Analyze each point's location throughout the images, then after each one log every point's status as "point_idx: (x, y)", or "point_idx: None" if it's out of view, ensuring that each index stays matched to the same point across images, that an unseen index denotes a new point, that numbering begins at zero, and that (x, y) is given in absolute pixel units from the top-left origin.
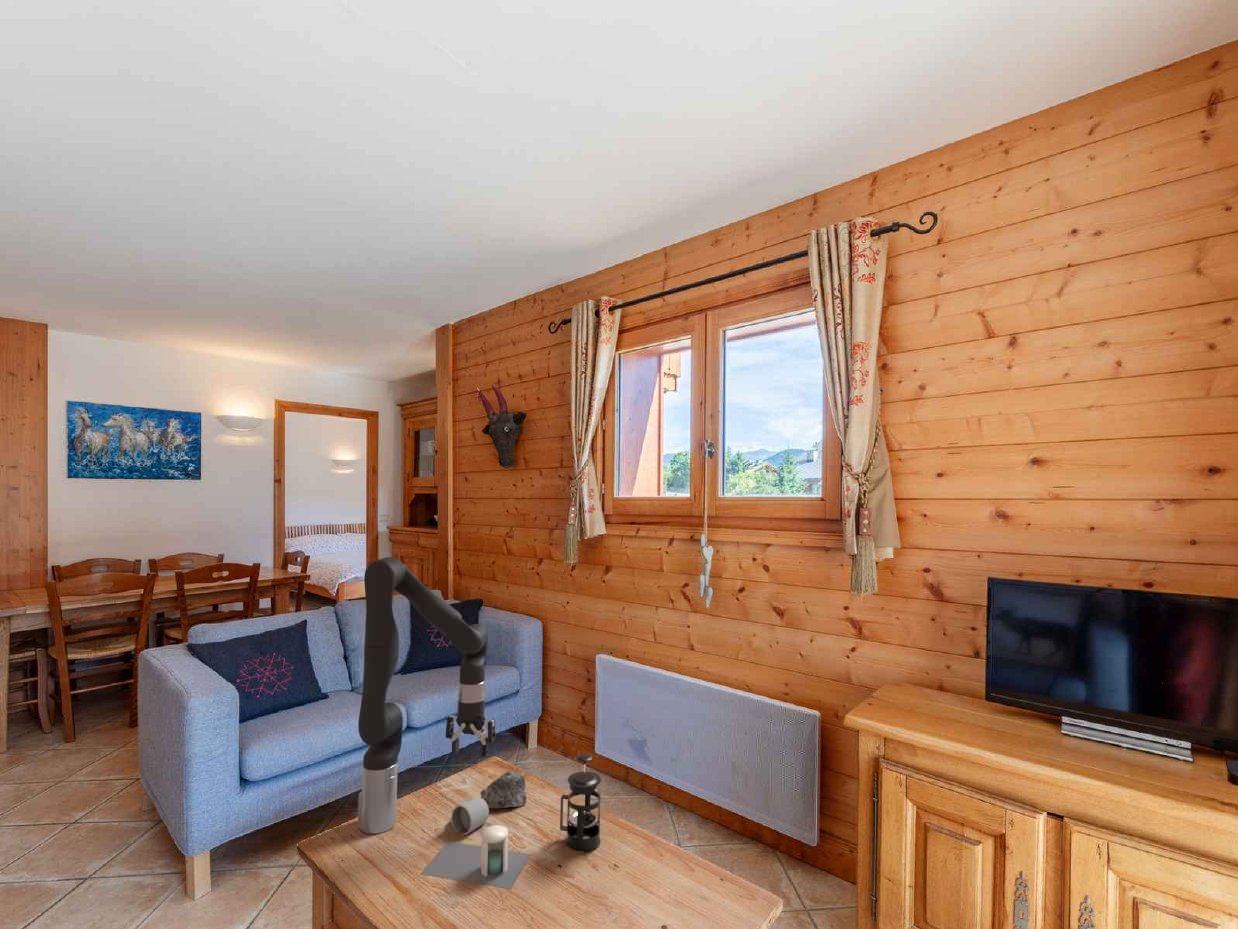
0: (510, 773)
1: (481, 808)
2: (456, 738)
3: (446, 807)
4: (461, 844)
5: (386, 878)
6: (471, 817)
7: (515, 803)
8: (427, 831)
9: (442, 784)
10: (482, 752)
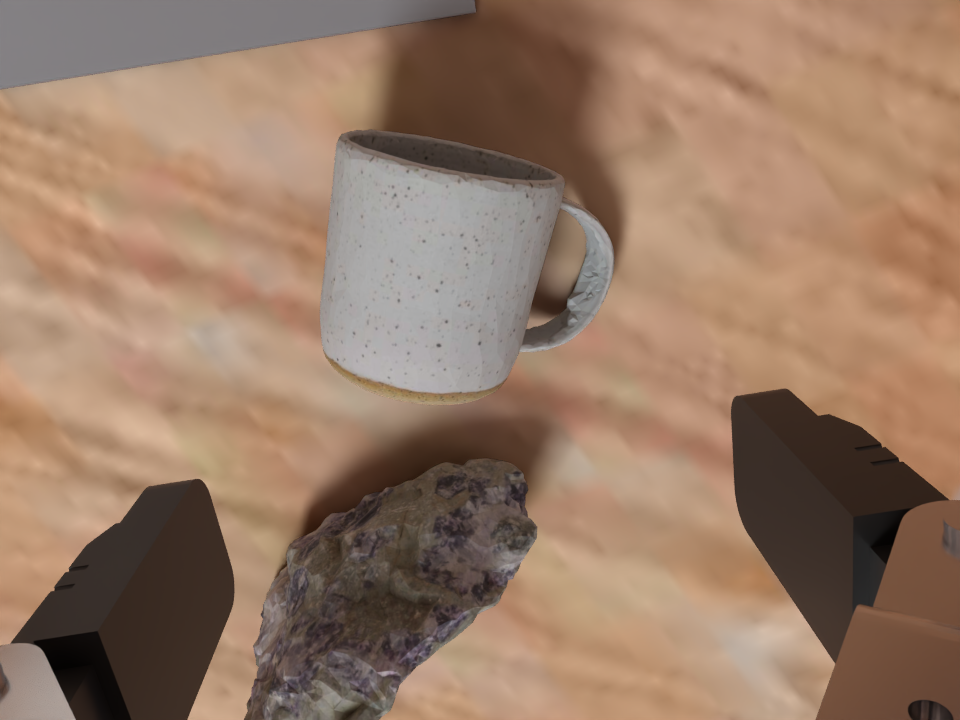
0: None
1: (338, 293)
2: (889, 585)
3: (745, 391)
4: (354, 17)
5: None
6: (340, 153)
7: (288, 567)
8: (705, 83)
9: None
10: (131, 531)
